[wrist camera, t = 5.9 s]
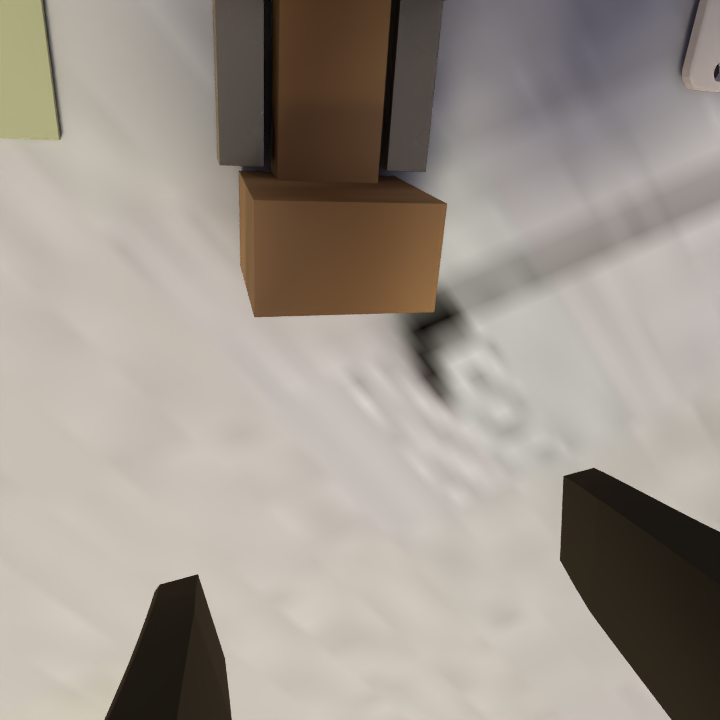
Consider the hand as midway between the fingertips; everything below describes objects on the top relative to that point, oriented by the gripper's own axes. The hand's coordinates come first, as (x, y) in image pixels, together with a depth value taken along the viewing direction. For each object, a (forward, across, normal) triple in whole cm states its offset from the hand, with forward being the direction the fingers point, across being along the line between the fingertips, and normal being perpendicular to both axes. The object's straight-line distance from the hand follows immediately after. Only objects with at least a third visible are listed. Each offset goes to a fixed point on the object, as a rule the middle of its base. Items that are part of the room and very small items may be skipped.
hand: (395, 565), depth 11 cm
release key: (+8, -1, -7) cm, 11 cm away
